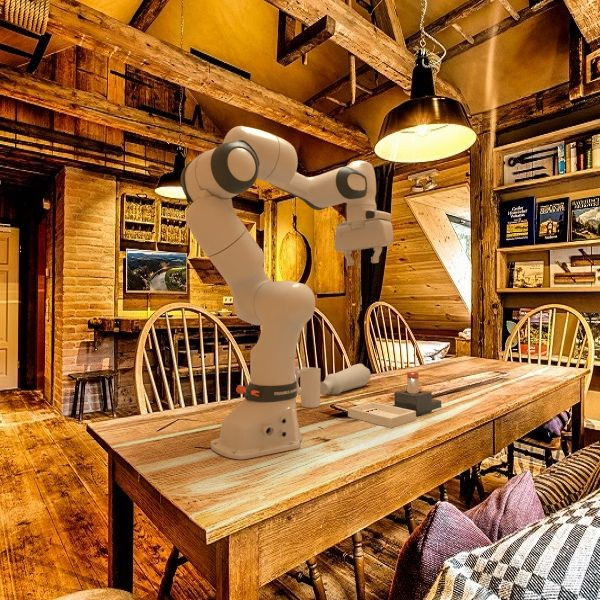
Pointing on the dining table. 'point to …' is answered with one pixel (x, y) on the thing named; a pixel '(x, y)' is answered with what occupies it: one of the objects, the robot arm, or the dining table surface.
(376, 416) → the tray
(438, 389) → the dining table surface
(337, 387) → the bottle
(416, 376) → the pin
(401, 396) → the block
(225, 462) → the dining table surface
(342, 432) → the dining table surface
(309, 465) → the dining table surface
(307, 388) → the mug
